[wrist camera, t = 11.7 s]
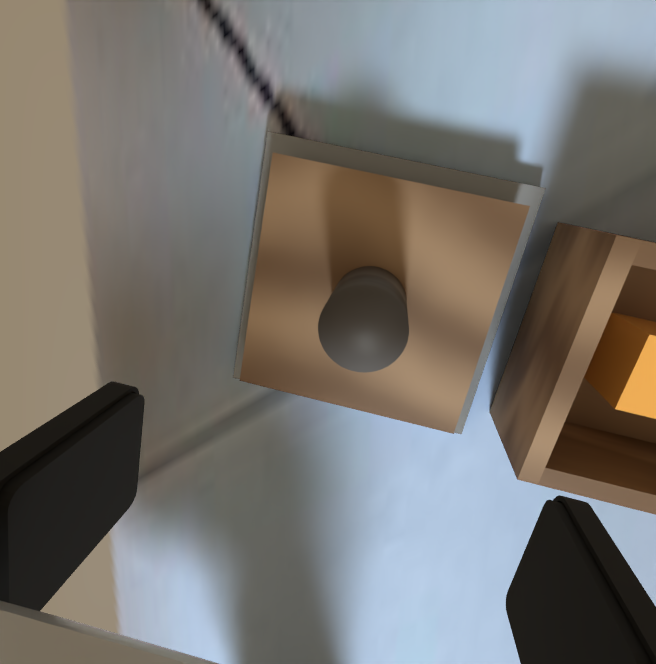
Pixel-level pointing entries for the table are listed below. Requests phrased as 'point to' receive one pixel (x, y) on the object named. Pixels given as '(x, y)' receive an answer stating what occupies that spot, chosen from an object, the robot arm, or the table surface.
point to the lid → (375, 290)
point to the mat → (405, 172)
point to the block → (626, 365)
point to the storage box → (579, 373)
